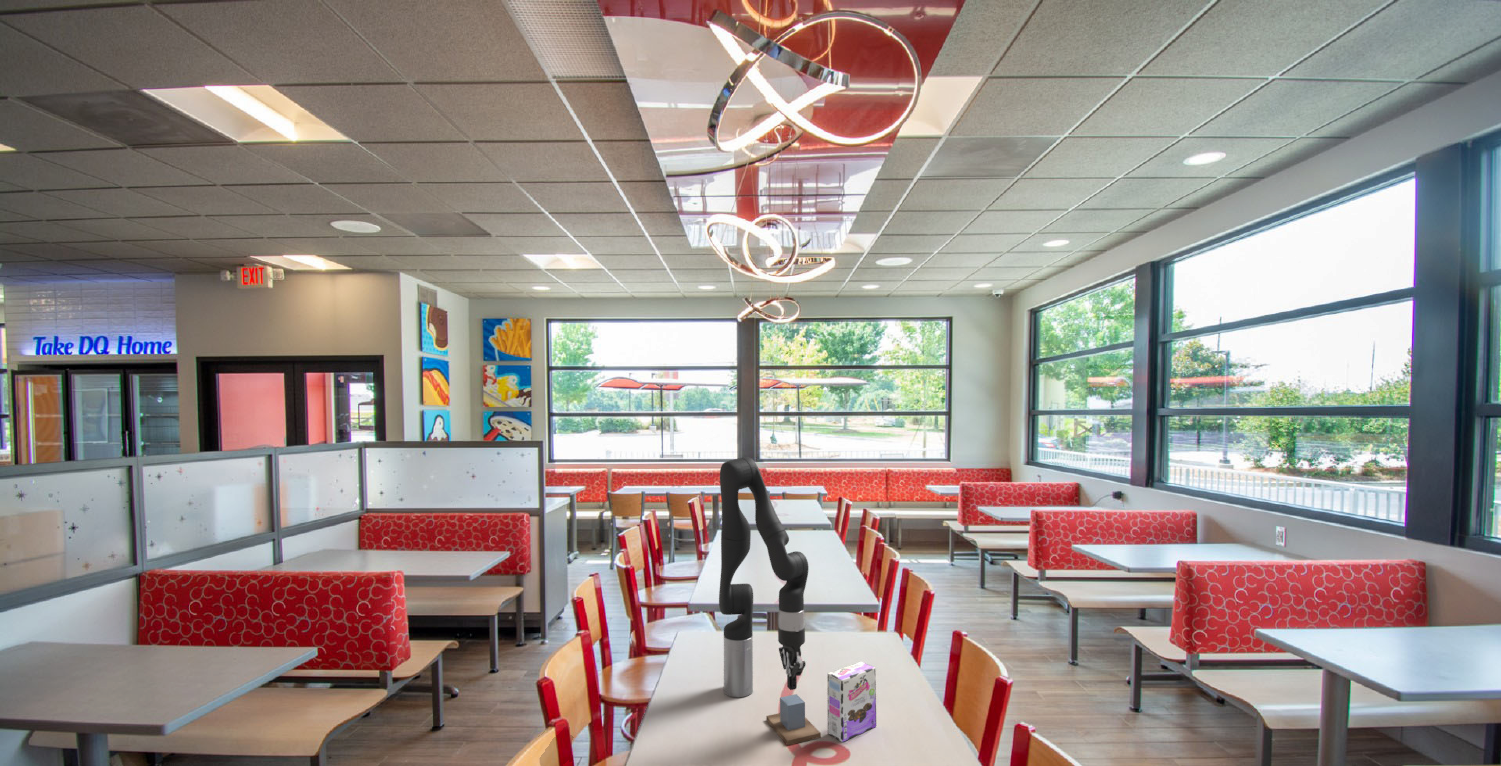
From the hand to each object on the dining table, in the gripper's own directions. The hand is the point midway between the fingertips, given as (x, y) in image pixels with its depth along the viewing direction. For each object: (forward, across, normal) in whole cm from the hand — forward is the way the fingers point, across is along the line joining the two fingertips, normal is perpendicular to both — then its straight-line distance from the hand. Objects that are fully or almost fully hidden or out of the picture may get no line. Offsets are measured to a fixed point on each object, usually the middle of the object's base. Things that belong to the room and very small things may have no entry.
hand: (792, 688), depth 166 cm
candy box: (+11, +7, +15) cm, 20 cm away
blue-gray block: (+10, 0, 0) cm, 10 cm away
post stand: (+11, 0, 0) cm, 11 cm away
